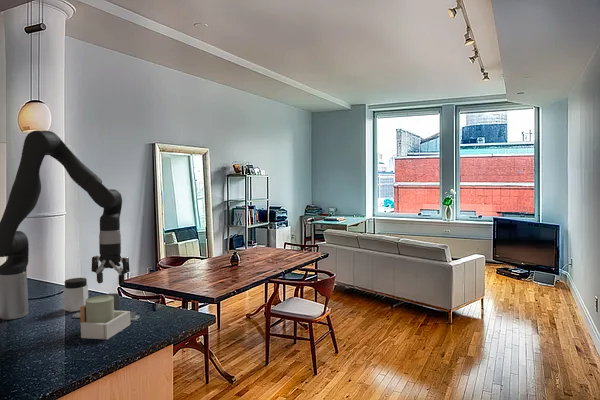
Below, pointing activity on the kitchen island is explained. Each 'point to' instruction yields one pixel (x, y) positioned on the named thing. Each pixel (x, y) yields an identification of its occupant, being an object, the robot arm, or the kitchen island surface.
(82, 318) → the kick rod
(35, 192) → the robot arm
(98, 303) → the can
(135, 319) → the rail
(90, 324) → the frame
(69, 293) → the jar
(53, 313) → the kitchen island surface
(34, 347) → the kitchen island surface
